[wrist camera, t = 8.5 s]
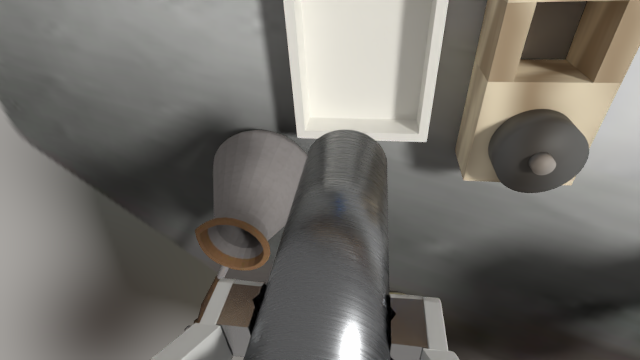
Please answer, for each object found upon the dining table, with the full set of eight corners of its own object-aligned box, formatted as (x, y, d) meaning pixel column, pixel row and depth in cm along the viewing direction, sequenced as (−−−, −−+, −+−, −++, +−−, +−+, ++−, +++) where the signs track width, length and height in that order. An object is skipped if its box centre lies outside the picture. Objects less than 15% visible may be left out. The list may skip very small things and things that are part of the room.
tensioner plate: (628, -36, 25) (713, -16, 18) (550, 154, 34) (587, 210, 28) (494, -31, 26) (529, -11, 20) (454, 150, 36) (470, 203, 29)
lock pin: (390, 130, 16) (398, 389, 7) (384, 198, 18) (386, 453, 10) (303, 128, 16) (216, 366, 8) (309, 194, 19) (247, 431, 10)
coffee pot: (237, 100, 36) (166, 192, 24) (337, 146, 38) (315, 254, 26) (197, 225, 49) (138, 325, 37) (273, 256, 51) (239, 361, 39)
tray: (447, -45, 26) (454, -39, 23) (423, 123, 35) (426, 142, 32) (290, -38, 28) (279, -32, 25) (304, 120, 36) (297, 137, 34)
